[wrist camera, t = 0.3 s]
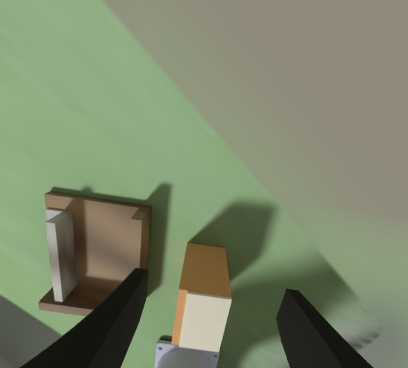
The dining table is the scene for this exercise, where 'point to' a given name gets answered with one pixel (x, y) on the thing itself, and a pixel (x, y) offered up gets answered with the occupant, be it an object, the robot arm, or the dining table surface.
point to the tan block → (202, 298)
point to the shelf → (92, 249)
